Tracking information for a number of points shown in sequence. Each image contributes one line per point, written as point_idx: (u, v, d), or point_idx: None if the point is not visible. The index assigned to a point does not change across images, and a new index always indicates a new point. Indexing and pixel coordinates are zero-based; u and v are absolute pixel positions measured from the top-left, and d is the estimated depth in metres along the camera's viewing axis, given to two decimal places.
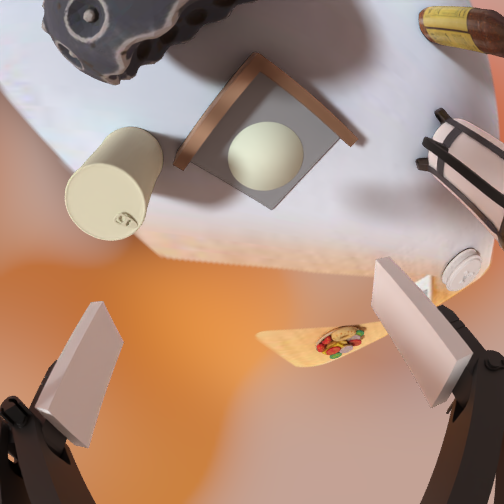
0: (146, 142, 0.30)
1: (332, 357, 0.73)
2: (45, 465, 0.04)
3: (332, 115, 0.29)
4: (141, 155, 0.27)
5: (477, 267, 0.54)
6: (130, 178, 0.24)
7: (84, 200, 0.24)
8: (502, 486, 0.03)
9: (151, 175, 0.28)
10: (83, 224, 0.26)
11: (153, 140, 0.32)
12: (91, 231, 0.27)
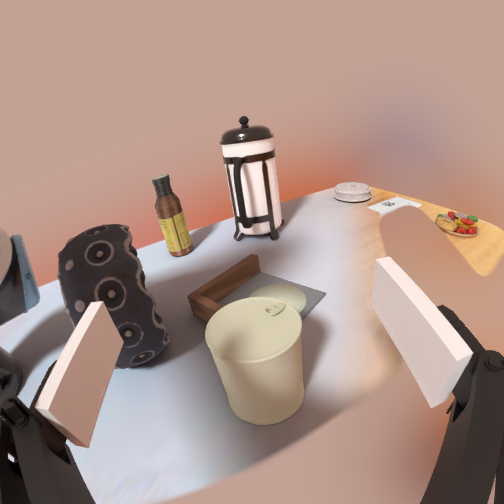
0: None
1: (476, 219, 0.57)
2: (45, 465, 0.04)
3: (235, 265, 0.52)
4: None
5: (342, 184, 0.91)
6: (231, 303, 0.29)
7: (242, 342, 0.24)
8: (502, 486, 0.03)
9: None
10: (274, 348, 0.23)
11: None
12: (287, 342, 0.23)
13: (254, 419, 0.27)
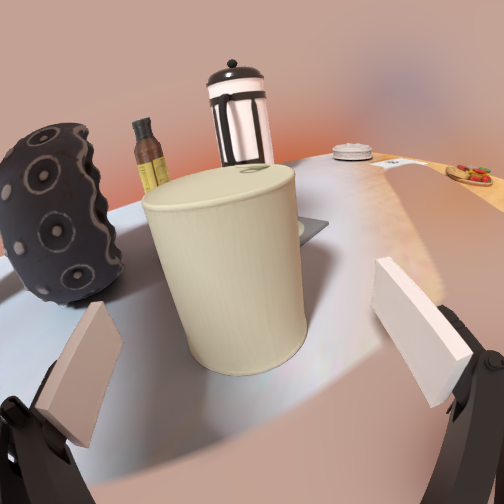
0: None
1: (488, 170, 0.48)
2: (45, 465, 0.04)
3: None
4: None
5: (341, 145, 0.82)
6: (192, 174, 0.20)
7: (196, 192, 0.14)
8: (502, 486, 0.03)
9: None
10: (247, 189, 0.13)
11: None
12: (269, 183, 0.14)
13: (223, 363, 0.17)
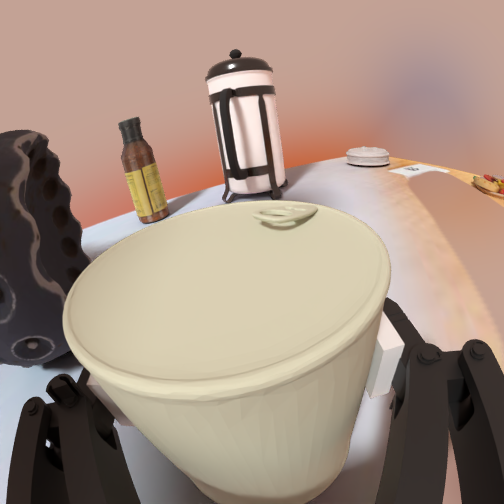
0: None
1: None
2: (92, 452, 0.05)
3: None
4: None
5: (355, 148, 0.73)
6: (173, 218, 0.11)
7: (167, 302, 0.06)
8: (467, 486, 0.04)
9: None
10: (300, 326, 0.05)
11: None
12: (351, 297, 0.05)
13: None
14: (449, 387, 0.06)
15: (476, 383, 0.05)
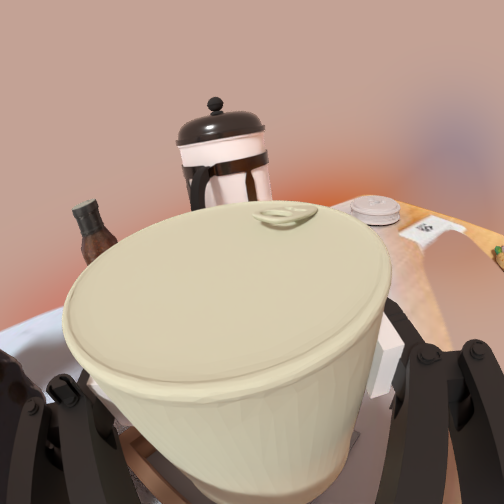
0: None
1: None
2: (92, 452, 0.05)
3: None
4: None
5: (361, 199, 0.66)
6: (173, 218, 0.11)
7: (166, 303, 0.06)
8: (467, 486, 0.04)
9: None
10: (300, 328, 0.05)
11: None
12: (352, 298, 0.05)
13: None
14: (449, 387, 0.06)
15: (476, 383, 0.05)
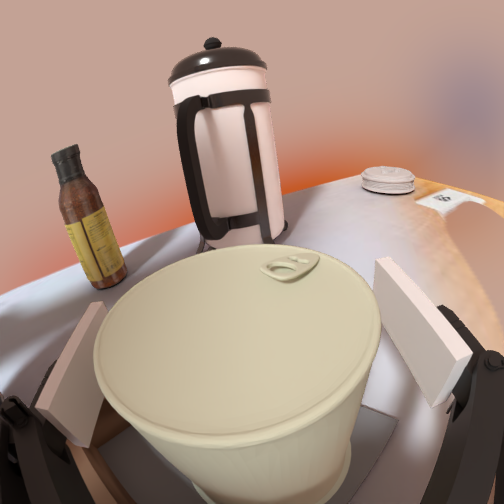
0: None
1: None
2: (45, 465, 0.04)
3: None
4: None
5: (373, 169, 0.59)
6: (184, 260, 0.12)
7: (189, 360, 0.07)
8: (502, 486, 0.03)
9: None
10: (301, 389, 0.06)
11: None
12: (344, 362, 0.06)
13: None
14: None
15: None
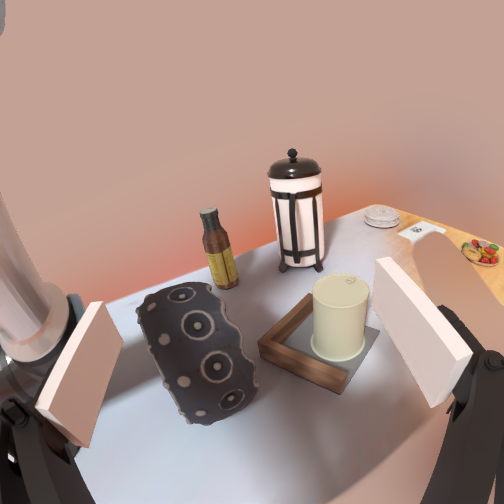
0: None
1: (497, 247, 0.58)
2: (45, 465, 0.04)
3: (296, 306, 0.53)
4: None
5: (372, 209, 0.92)
6: (322, 278, 0.46)
7: (338, 297, 0.40)
8: (502, 486, 0.03)
9: None
10: (358, 299, 0.39)
11: None
12: (363, 296, 0.40)
13: (336, 355, 0.43)
14: None
15: None
